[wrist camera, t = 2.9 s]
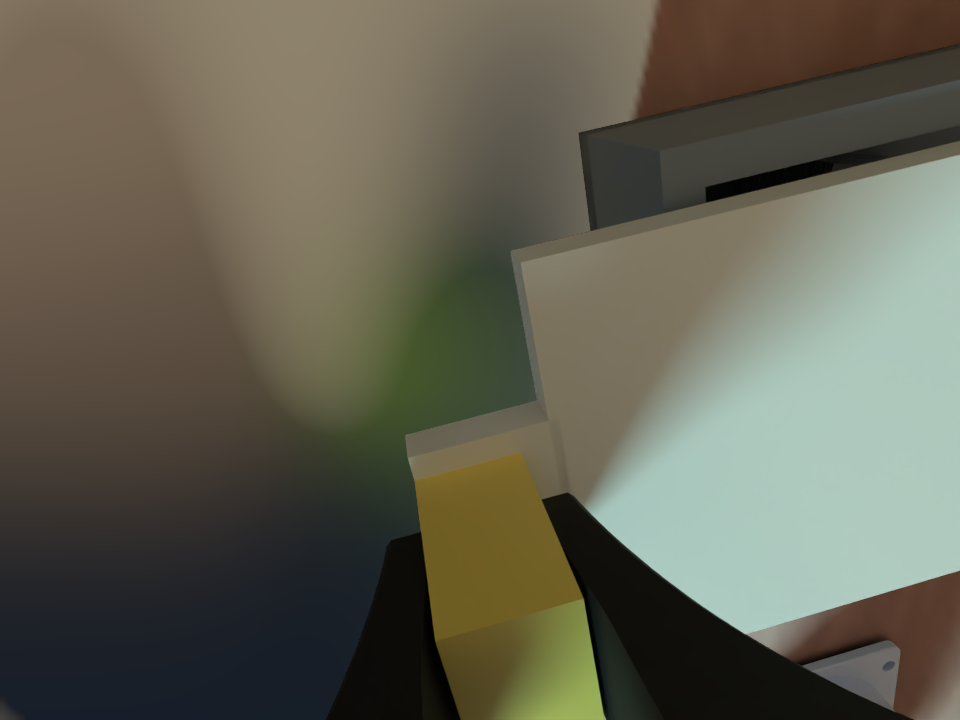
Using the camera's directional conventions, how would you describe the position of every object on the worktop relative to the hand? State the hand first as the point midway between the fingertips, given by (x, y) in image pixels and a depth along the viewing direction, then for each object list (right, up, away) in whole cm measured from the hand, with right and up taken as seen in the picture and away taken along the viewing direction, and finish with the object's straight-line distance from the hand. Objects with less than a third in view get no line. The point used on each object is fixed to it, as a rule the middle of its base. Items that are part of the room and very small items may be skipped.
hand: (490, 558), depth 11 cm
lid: (+7, +2, +2) cm, 7 cm away
